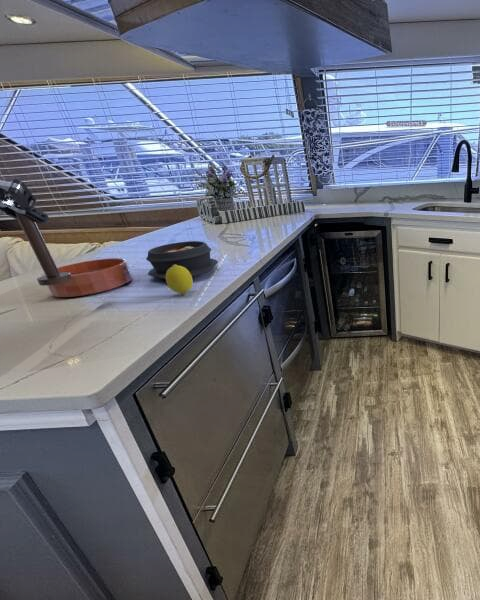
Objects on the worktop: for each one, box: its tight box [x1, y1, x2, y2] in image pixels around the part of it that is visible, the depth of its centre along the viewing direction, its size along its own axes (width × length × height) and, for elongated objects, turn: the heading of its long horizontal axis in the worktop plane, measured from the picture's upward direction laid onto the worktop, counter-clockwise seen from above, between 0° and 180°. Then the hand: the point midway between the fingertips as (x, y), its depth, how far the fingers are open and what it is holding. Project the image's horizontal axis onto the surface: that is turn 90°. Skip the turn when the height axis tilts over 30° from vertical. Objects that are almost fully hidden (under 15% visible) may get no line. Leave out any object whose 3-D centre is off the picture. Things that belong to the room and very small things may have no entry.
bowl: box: [41, 257, 133, 298], centre depth 90 cm, size 17×17×6 cm
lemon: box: [165, 265, 194, 295], centre depth 81 cm, size 6×6×8 cm
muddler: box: [13, 200, 72, 287], centre depth 62 cm, size 5×5×16 cm
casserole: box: [145, 240, 219, 280], centre depth 99 cm, size 25×19×8 cm
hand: (38, 220), depth 63 cm, fingers closed on muddler
